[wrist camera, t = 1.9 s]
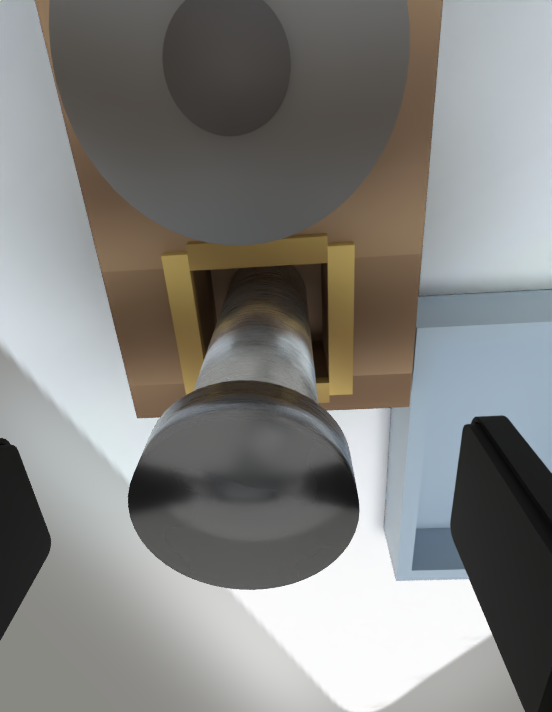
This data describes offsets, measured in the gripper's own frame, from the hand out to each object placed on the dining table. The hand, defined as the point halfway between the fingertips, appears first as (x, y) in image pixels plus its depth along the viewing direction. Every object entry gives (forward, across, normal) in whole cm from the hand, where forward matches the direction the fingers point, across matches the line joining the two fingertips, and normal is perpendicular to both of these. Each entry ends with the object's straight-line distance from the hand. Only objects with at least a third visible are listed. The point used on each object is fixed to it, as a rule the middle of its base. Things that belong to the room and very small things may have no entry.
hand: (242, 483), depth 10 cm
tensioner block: (+10, 0, -5) cm, 11 cm away
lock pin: (+10, 0, -1) cm, 10 cm away
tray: (+11, -10, +6) cm, 16 cm away
